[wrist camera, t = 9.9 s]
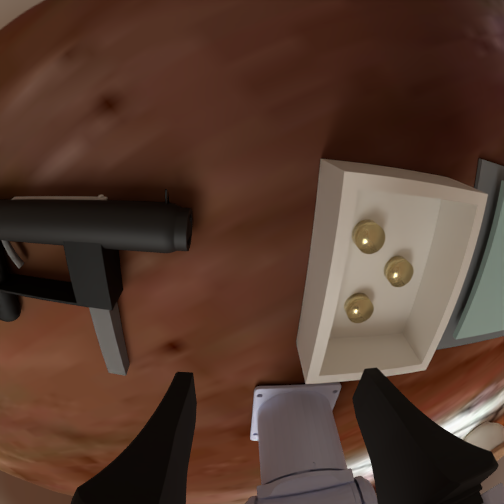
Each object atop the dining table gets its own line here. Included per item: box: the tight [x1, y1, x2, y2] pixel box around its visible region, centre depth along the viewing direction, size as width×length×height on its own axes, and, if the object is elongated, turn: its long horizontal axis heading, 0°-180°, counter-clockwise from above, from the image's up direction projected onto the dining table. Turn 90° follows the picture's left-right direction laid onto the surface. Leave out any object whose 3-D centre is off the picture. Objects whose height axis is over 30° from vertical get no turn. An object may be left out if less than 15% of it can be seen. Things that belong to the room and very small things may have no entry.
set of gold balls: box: [344, 219, 414, 323], centre depth 20 cm, size 8×5×1 cm, turn 177°
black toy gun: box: [0, 189, 193, 375], centre depth 20 cm, size 3×20×16 cm
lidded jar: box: [464, 421, 504, 461], centre depth 33 cm, size 11×11×9 cm
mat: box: [436, 159, 504, 350], centre depth 22 cm, size 18×14×1 cm
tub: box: [296, 159, 488, 384], centre depth 19 cm, size 14×10×4 cm
